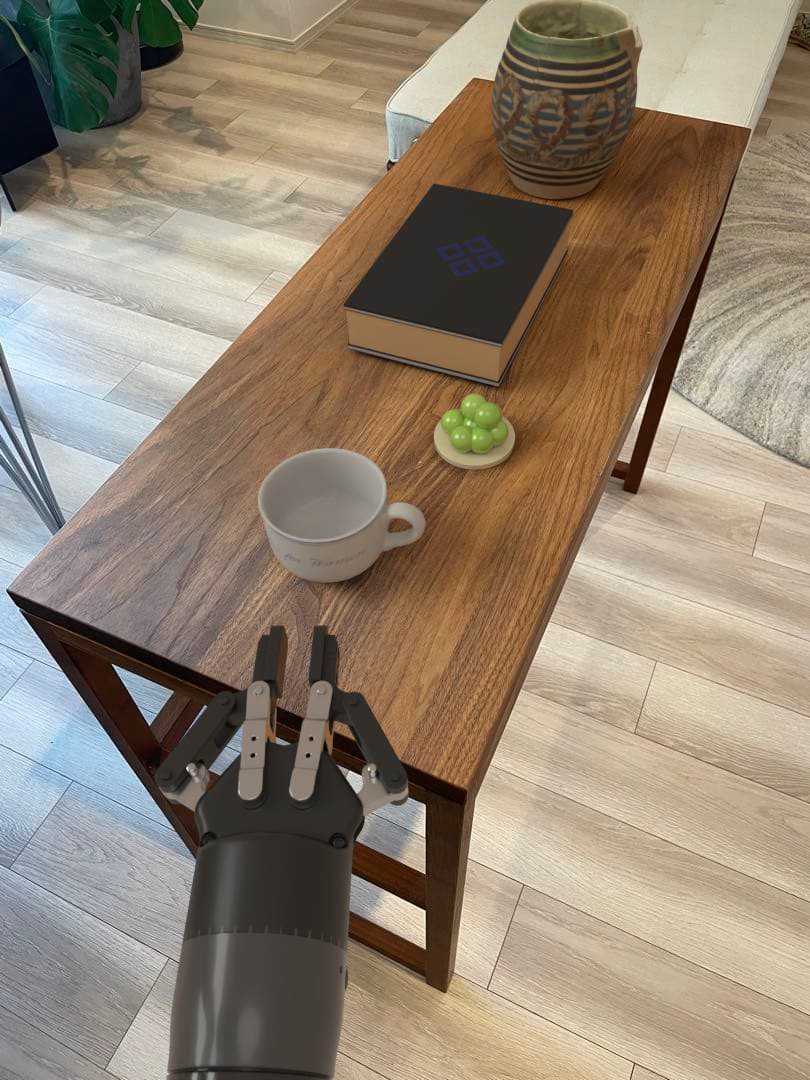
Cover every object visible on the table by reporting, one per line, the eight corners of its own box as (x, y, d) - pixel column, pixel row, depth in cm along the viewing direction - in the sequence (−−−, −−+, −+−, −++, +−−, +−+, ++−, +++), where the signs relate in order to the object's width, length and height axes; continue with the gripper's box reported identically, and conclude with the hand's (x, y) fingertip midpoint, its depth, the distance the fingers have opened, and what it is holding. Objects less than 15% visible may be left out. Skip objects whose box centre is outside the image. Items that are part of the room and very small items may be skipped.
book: (348, 354, 91) (342, 303, 86) (433, 232, 105) (433, 182, 99) (498, 393, 86) (501, 342, 81) (567, 260, 100) (574, 209, 95)
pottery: (466, 194, 110) (470, 29, 94) (520, 134, 119) (533, -26, 103) (592, 227, 104) (619, 57, 88) (640, 162, 113) (672, -4, 97)
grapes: (446, 477, 79) (446, 437, 75) (424, 420, 84) (423, 380, 80) (525, 460, 80) (530, 420, 76) (500, 405, 85) (503, 364, 81)
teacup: (250, 573, 73) (231, 516, 67) (310, 488, 79) (298, 428, 73) (391, 629, 69) (386, 573, 63) (444, 535, 75) (444, 476, 69)
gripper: (413, 942, 35) (417, 595, 45) (87, 938, 35) (167, 596, 46) (417, 977, 41) (420, 663, 51) (139, 973, 41) (198, 663, 52)
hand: (300, 633), depth 48 cm, fingers closed
